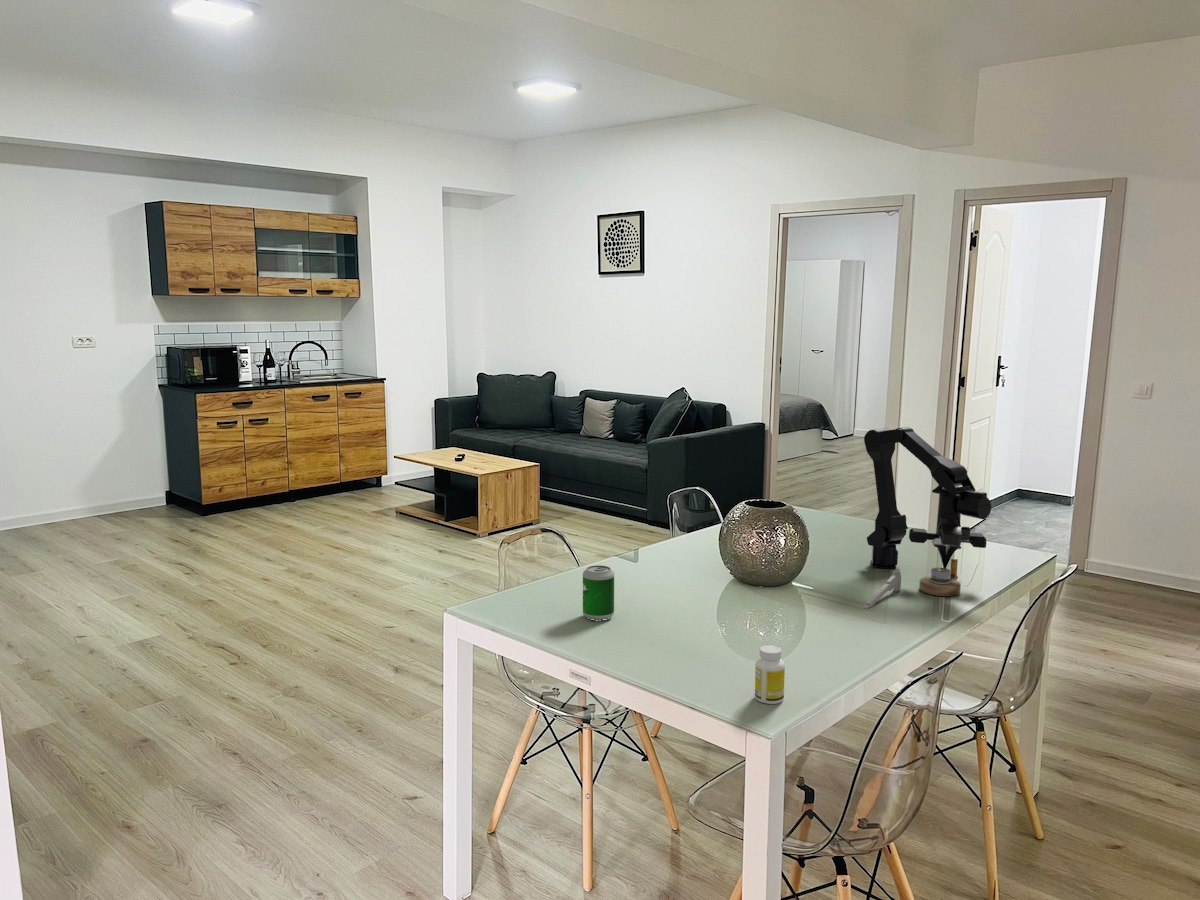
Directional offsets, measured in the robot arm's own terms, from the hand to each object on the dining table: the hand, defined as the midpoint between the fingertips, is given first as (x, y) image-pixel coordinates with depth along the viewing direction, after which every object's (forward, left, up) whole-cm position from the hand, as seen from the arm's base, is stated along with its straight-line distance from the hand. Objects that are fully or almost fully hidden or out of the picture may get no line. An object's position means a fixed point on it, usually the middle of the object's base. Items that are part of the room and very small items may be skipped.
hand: (944, 569), depth 239 cm
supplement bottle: (-44, -83, -4) cm, 94 cm away
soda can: (-85, -45, -4) cm, 96 cm away
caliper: (-17, -16, -5) cm, 24 cm away
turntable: (-1, -5, -4) cm, 6 cm away
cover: (-2, -7, -2) cm, 7 cm away
